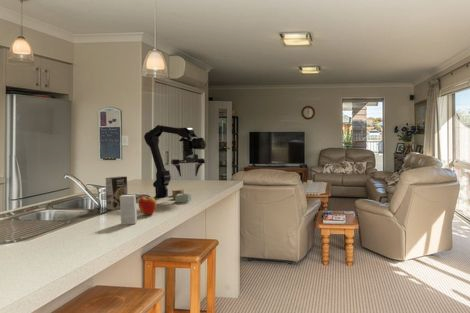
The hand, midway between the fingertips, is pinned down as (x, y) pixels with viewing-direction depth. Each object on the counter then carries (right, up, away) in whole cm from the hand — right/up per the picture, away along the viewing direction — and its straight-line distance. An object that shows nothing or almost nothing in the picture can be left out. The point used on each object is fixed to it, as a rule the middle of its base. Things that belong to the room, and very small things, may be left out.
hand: (188, 176), depth 262 cm
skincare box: (-18, -17, -70) cm, 74 cm away
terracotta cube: (-8, -12, +10) cm, 18 cm away
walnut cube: (-5, -13, -1) cm, 14 cm away
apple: (-14, -16, -51) cm, 55 cm away
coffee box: (-33, -15, -29) cm, 47 cm away
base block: (-1, -14, -13) cm, 19 cm away
